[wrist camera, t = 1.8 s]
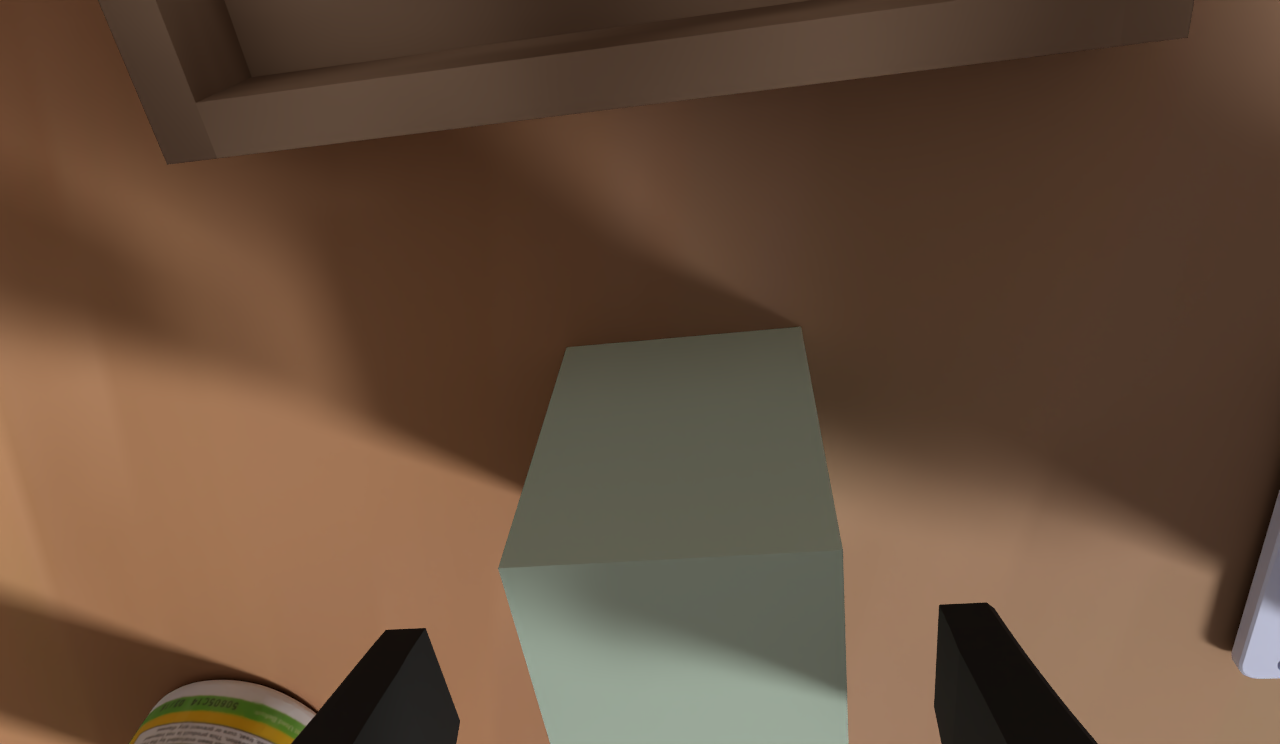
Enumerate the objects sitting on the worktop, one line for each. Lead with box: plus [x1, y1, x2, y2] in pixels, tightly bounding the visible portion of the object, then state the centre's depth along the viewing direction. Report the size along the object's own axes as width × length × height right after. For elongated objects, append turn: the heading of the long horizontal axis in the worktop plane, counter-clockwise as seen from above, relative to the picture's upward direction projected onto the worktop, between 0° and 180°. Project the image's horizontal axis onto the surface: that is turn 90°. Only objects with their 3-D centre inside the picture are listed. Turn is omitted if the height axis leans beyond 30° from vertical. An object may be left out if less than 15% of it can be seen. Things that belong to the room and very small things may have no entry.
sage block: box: [498, 327, 848, 744], centre depth 14 cm, size 4×4×6 cm
